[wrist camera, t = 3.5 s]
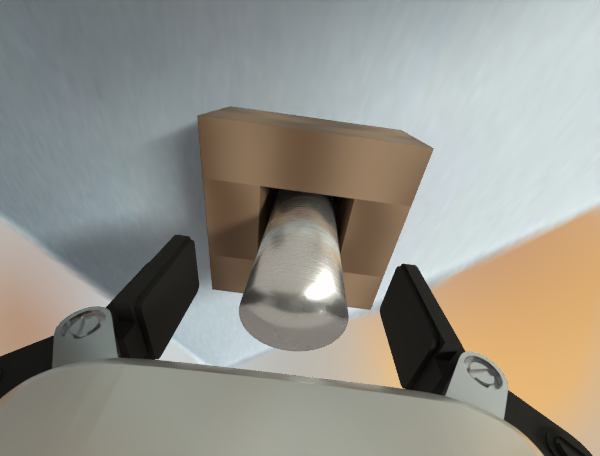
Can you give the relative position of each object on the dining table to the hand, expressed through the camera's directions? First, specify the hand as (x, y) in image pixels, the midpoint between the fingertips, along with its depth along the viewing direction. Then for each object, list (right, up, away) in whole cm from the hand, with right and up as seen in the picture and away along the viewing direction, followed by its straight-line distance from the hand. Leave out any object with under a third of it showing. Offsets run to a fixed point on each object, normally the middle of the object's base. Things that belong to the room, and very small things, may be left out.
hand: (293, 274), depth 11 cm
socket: (+1, +4, +7) cm, 8 cm away
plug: (+1, +4, +7) cm, 8 cm away
